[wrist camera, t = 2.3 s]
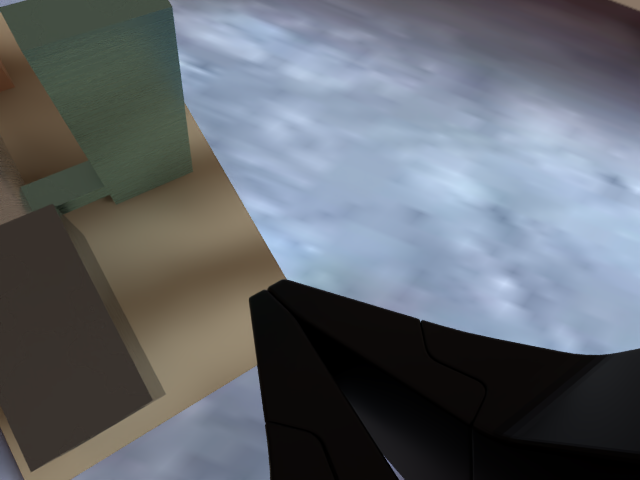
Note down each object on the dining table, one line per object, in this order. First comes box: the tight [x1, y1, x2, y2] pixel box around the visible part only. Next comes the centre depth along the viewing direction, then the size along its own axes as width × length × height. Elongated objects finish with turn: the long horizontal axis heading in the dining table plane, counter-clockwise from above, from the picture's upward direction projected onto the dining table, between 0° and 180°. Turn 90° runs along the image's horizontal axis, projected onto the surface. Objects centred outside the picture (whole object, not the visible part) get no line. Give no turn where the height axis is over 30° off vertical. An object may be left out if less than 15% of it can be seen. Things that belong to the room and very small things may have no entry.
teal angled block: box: [0, 0, 193, 225], centre depth 16 cm, size 13×9×11 cm
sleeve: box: [0, 204, 166, 472], centre depth 18 cm, size 8×4×4 cm, turn 31°
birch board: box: [0, 13, 286, 480], centre depth 22 cm, size 22×14×1 cm, turn 31°
